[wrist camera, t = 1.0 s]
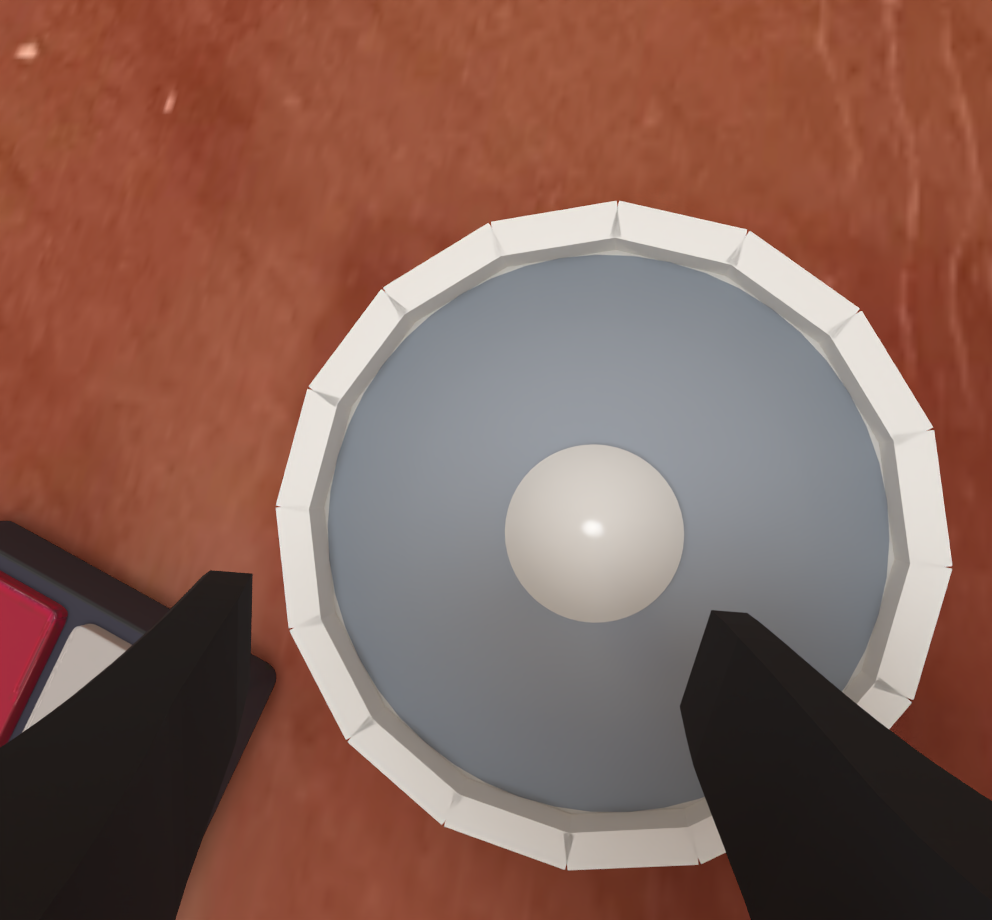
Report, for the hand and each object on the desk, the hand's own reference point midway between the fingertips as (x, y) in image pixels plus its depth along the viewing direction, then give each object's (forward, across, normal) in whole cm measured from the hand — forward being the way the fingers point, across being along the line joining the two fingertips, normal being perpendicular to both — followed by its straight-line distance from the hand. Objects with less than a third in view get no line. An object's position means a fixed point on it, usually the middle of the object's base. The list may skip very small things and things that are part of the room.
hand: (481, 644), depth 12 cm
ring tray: (+10, -4, +4) cm, 12 cm away
